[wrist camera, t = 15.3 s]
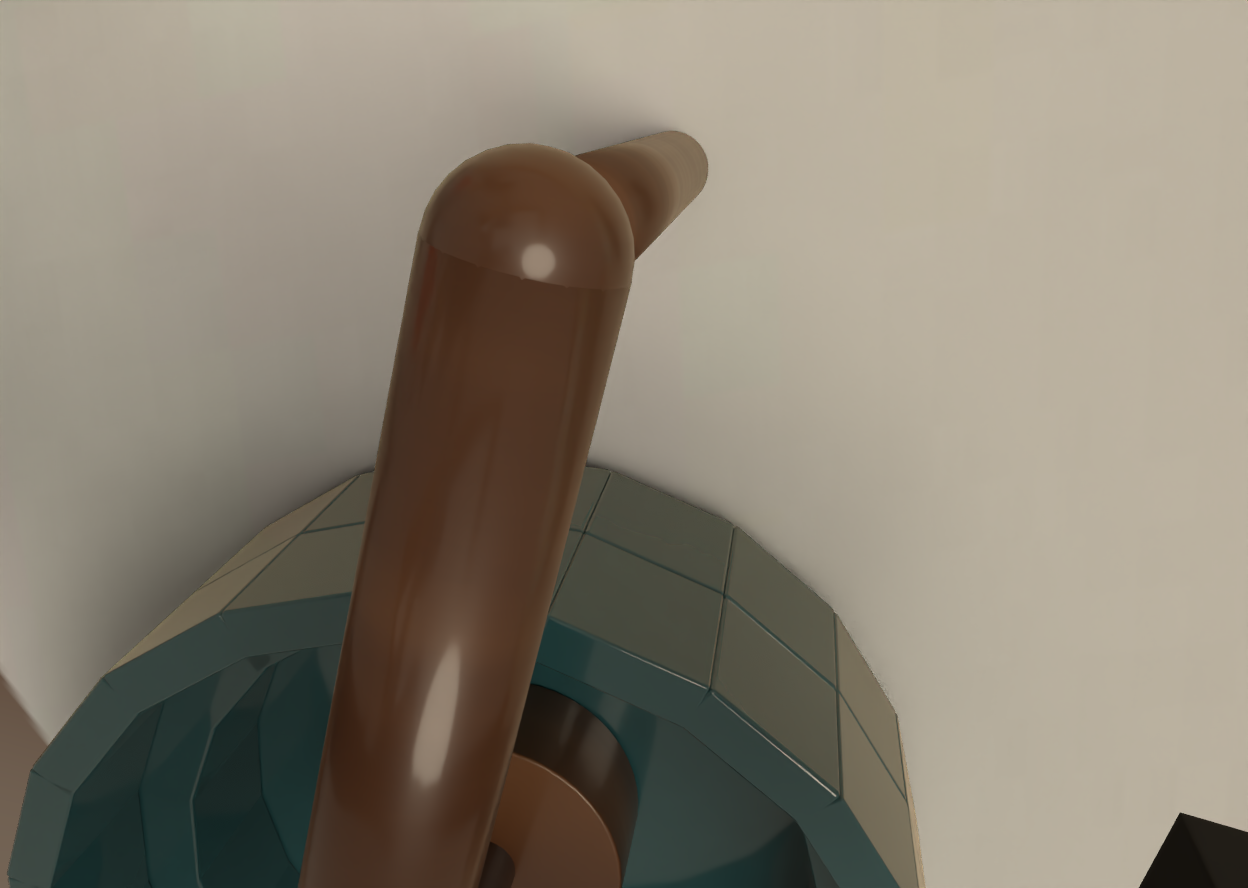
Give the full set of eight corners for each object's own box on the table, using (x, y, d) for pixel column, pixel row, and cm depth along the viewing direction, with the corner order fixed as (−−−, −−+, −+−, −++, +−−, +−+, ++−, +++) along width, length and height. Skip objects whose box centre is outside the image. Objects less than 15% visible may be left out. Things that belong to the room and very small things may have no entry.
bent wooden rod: (538, 79, 18) (147, 50, 7) (839, 159, 18) (918, 260, 7) (375, 852, 24) (7, 1522, 13) (604, 924, 23) (436, 1675, 12)
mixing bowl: (57, 640, 24) (-165, 822, 19) (657, 298, 19) (595, 406, 14) (450, 1123, 28) (359, 1396, 22) (1040, 936, 23) (1114, 1227, 17)
